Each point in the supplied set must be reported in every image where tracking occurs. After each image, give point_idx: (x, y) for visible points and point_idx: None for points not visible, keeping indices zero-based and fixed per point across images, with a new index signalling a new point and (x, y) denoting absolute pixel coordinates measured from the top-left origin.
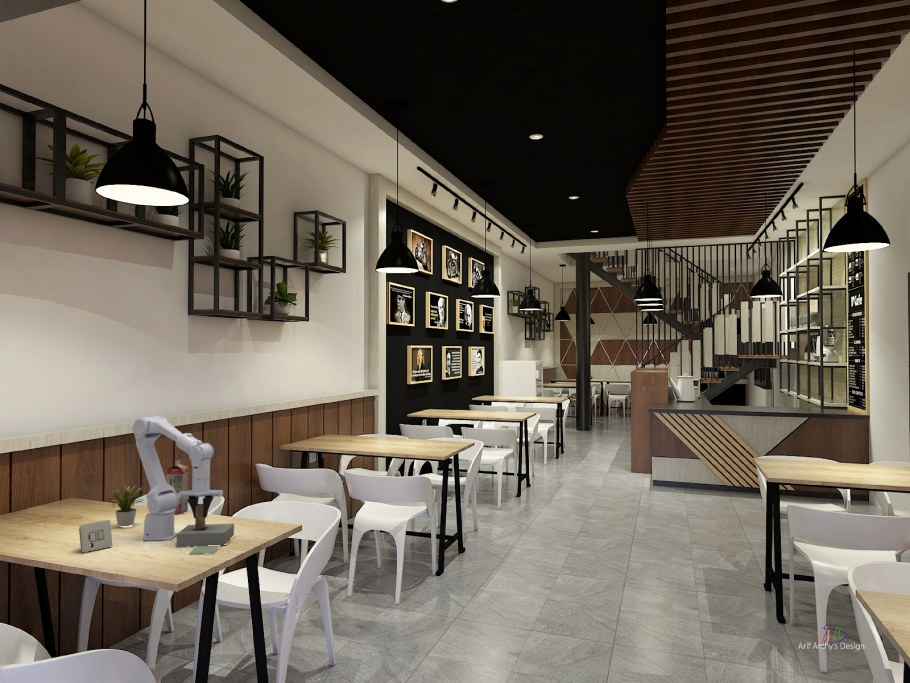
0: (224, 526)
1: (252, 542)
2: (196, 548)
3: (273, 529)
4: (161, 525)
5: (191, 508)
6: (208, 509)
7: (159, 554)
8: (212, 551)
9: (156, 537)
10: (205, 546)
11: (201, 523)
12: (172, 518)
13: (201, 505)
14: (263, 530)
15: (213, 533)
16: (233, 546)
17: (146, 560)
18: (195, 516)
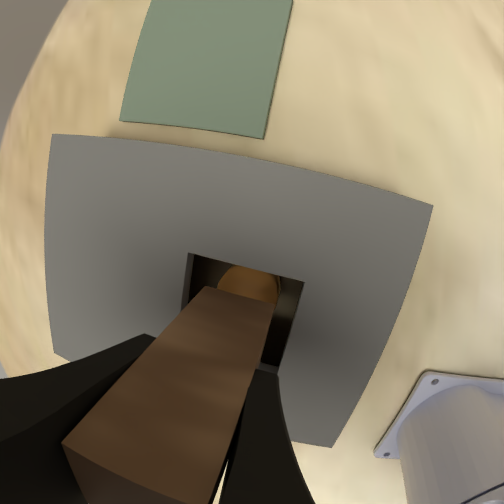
0: (78, 310)
1: (18, 174)
2: (258, 85)
3: (7, 341)
4: (488, 432)
5: (301, 476)
6: None
7: (468, 78)
8: (161, 14)
9: (482, 391)
10: (204, 118)
11: (202, 308)
12: (431, 488)
13: (92, 462)
14: (26, 347)
15: (117, 138)
16: (73, 118)
17: (491, 11)
18: (252, 375)
